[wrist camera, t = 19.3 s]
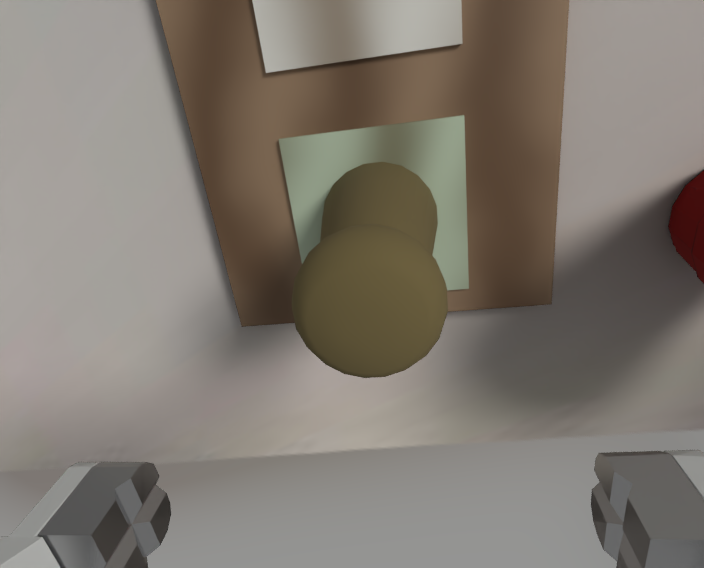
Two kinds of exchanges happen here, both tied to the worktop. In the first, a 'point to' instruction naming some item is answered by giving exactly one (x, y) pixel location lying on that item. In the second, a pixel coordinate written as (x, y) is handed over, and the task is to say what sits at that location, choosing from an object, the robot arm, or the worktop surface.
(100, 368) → the worktop surface
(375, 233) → the cork
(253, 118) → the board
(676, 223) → the plastic cup
